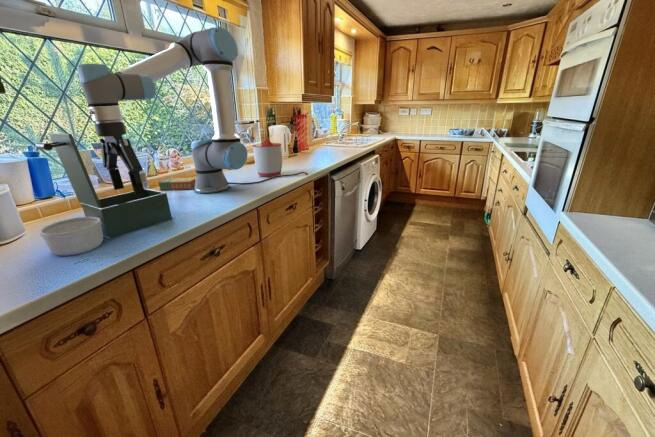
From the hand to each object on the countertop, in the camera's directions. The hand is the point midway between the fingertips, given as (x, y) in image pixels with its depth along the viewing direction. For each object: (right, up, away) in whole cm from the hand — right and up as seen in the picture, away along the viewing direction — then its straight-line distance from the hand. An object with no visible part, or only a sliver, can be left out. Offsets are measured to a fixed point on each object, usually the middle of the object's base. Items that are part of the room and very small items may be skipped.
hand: (129, 191), depth 98 cm
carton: (-8, +6, +50) cm, 52 cm away
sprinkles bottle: (-14, -1, +32) cm, 35 cm away
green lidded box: (0, -11, +3) cm, 11 cm away
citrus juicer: (+32, +15, +72) cm, 80 cm away
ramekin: (-5, -17, -13) cm, 22 cm away
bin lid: (-7, +5, -12) cm, 15 cm away
